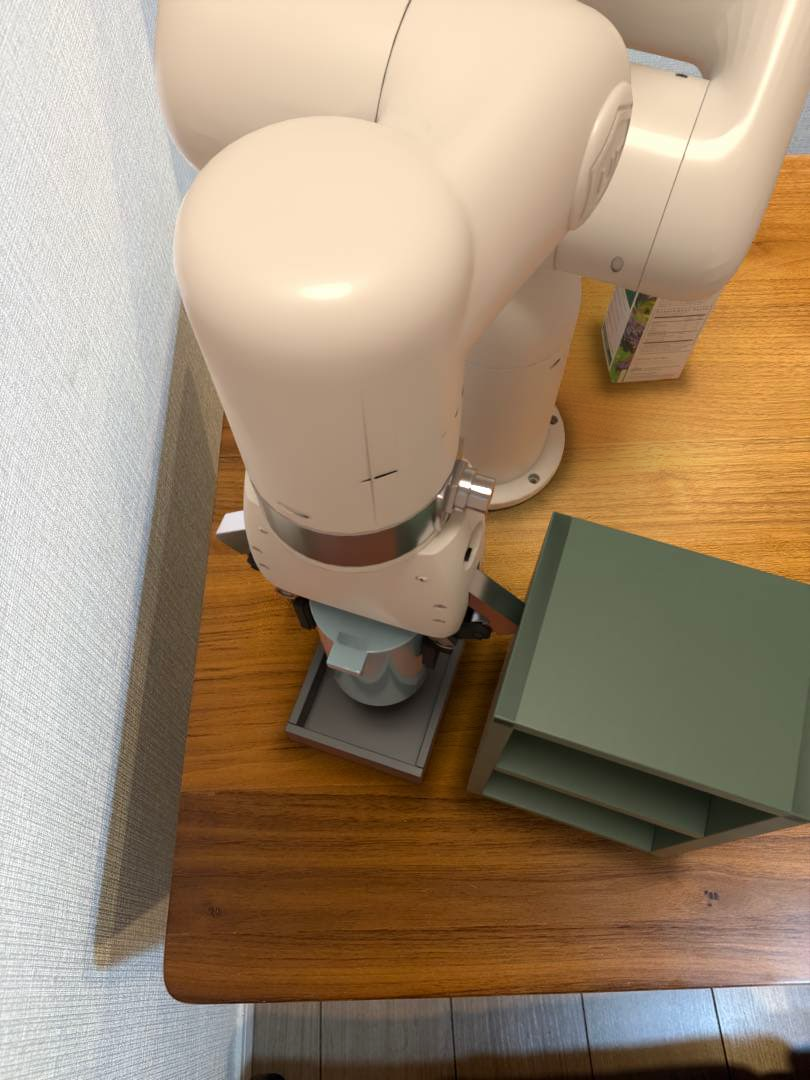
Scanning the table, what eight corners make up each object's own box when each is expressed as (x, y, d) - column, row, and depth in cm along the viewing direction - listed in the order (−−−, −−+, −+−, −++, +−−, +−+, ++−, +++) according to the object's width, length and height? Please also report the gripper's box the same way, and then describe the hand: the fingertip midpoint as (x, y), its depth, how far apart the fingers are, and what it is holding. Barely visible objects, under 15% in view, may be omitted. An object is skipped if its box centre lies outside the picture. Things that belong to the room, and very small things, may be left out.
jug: (362, 564, 54) (350, 483, 44) (455, 592, 53) (464, 516, 43) (308, 702, 50) (282, 648, 40) (407, 735, 50) (405, 689, 40)
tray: (358, 568, 61) (355, 551, 58) (478, 605, 59) (480, 590, 56) (291, 740, 55) (284, 731, 53) (420, 785, 54) (420, 778, 51)
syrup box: (598, 329, 69) (640, 191, 56) (667, 324, 69) (726, 185, 56) (610, 385, 67) (657, 254, 54) (682, 380, 67) (746, 249, 54)
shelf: (507, 650, 58) (553, 510, 38) (691, 709, 56) (844, 593, 36) (465, 790, 54) (492, 716, 34) (662, 858, 52) (815, 822, 32)
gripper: (609, 443, 30) (542, 610, 47) (183, 328, 33) (261, 524, 49) (559, 627, 27) (506, 737, 44) (95, 484, 30) (209, 638, 46)
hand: (376, 623), depth 46 cm, fingers closed on jug, 6 cm apart
